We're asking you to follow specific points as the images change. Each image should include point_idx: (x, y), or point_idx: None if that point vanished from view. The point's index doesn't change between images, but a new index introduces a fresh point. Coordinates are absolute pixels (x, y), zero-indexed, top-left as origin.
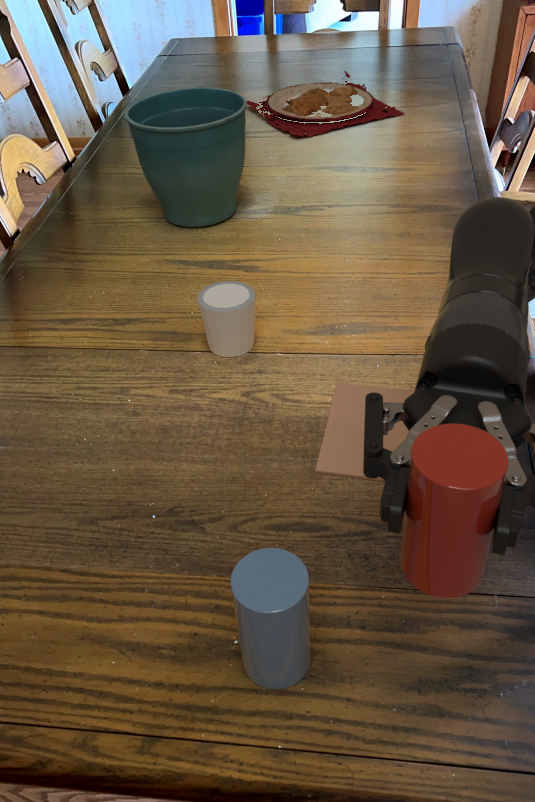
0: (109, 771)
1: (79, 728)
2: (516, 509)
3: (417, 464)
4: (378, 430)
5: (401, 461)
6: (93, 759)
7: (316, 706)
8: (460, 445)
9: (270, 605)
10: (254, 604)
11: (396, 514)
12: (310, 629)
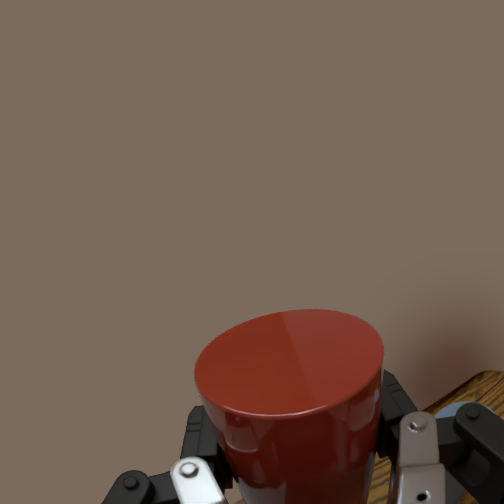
0: (455, 395)
1: (485, 394)
2: (195, 434)
3: (345, 314)
4: (494, 441)
5: (408, 417)
6: (466, 393)
7: (384, 489)
8: (291, 366)
9: (444, 414)
10: (454, 406)
11: None
12: None
